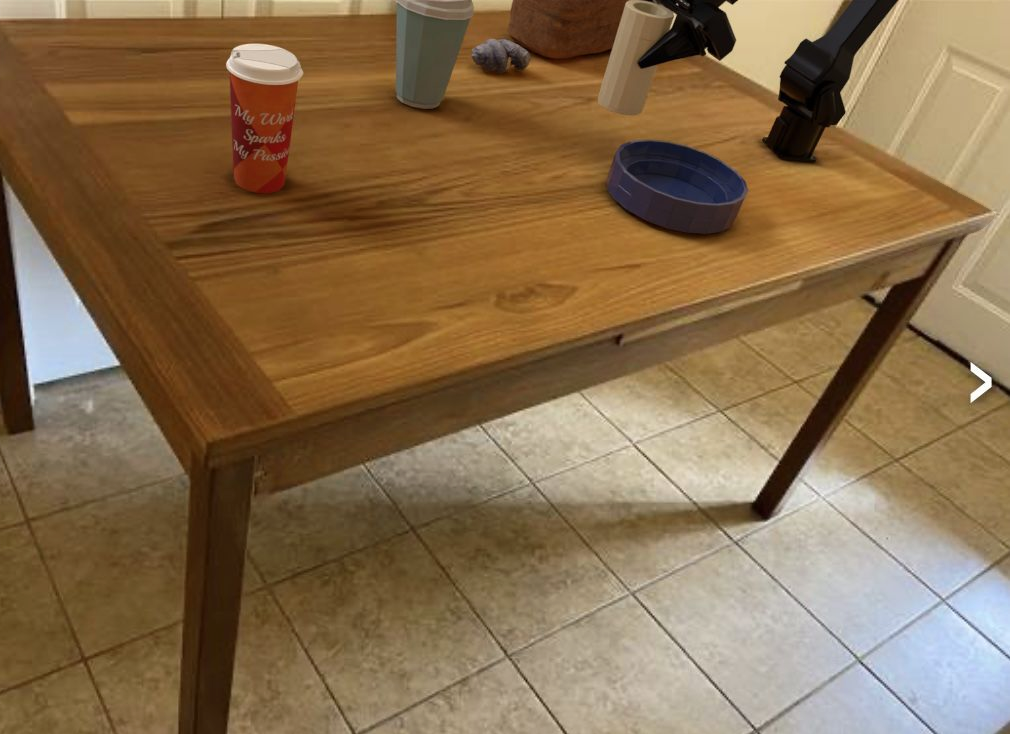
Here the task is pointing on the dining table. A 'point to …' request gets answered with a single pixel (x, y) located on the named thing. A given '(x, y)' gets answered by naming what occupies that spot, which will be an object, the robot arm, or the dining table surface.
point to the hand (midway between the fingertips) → (626, 55)
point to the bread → (565, 26)
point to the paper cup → (262, 114)
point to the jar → (633, 57)
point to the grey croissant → (500, 55)
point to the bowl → (676, 186)
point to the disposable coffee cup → (428, 48)
